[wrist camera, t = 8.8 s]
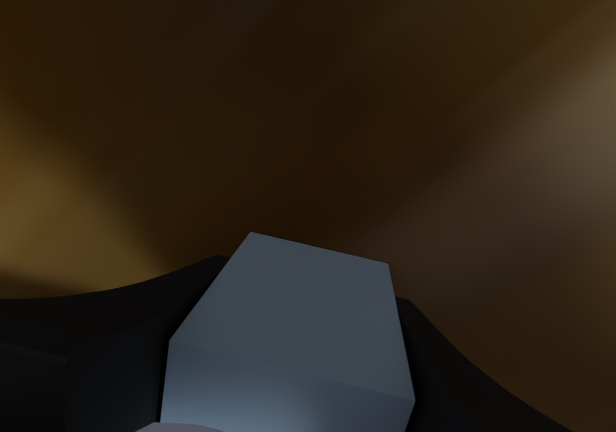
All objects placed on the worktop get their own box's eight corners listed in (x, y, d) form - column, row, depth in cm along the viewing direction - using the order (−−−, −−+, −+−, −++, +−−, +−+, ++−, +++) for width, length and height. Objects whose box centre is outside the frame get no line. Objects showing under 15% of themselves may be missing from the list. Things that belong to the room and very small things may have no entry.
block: (388, 263, 13) (415, 400, 7) (354, 378, 14) (355, 570, 8) (250, 231, 13) (169, 340, 7) (230, 348, 14) (149, 516, 9)
